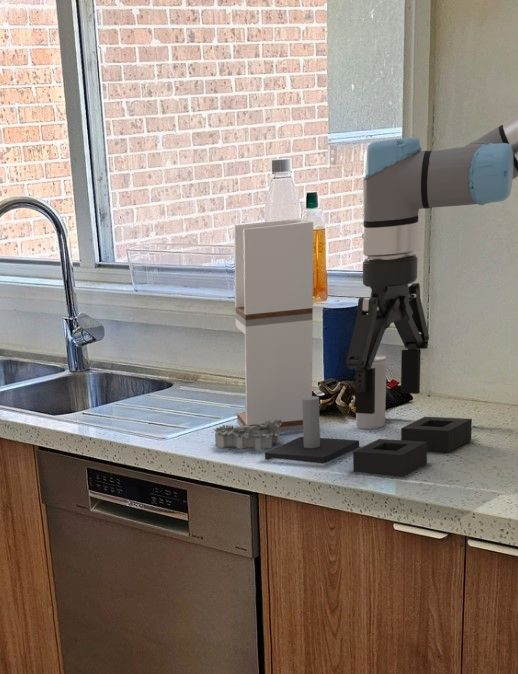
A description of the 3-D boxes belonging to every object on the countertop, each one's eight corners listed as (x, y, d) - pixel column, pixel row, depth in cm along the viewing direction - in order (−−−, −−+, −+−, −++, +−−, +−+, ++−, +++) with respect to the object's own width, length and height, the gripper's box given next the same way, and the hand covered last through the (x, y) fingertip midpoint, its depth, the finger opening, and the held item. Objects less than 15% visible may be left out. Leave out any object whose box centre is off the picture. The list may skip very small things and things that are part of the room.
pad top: (471, 440, 196) (472, 418, 195) (448, 452, 192) (448, 430, 190) (424, 437, 202) (424, 416, 201) (400, 449, 197) (400, 428, 196)
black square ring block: (427, 464, 187) (427, 441, 186) (401, 477, 182) (401, 454, 181) (379, 460, 193) (379, 438, 191) (353, 473, 188) (352, 451, 187)
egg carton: (285, 443, 211) (285, 419, 210) (265, 453, 206) (265, 429, 204) (229, 439, 218) (229, 416, 216) (209, 449, 212) (208, 425, 211)
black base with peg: (359, 449, 201) (358, 391, 197) (324, 466, 194) (322, 407, 190) (300, 445, 208) (299, 389, 204) (264, 461, 201) (262, 404, 198)
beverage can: (356, 431, 211) (357, 361, 206) (355, 425, 215) (356, 356, 210) (385, 430, 210) (387, 359, 205) (384, 423, 214) (386, 354, 209)
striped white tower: (299, 418, 226) (299, 218, 212) (311, 430, 217) (313, 222, 202) (237, 423, 227) (234, 225, 213) (247, 436, 217) (244, 229, 203)
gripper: (408, 244, 185) (405, 384, 194) (320, 269, 170) (321, 420, 179) (455, 242, 180) (450, 386, 189) (369, 268, 165) (368, 423, 174)
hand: (388, 403), depth 184 cm, fingers open, 13 cm apart
